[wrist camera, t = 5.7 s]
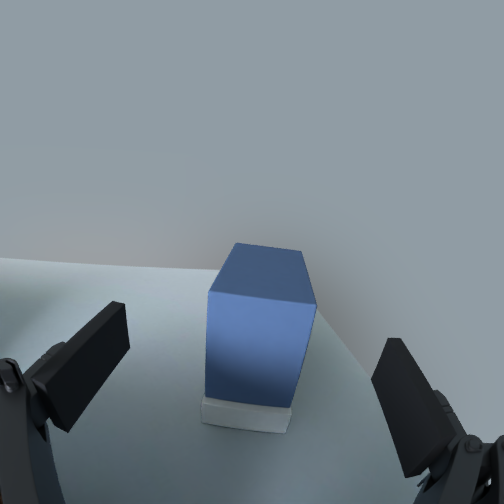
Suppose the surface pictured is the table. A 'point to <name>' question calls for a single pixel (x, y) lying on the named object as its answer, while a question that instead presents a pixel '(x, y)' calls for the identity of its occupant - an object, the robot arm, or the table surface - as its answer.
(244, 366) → the block
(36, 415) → the robot arm
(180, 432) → the table surface
